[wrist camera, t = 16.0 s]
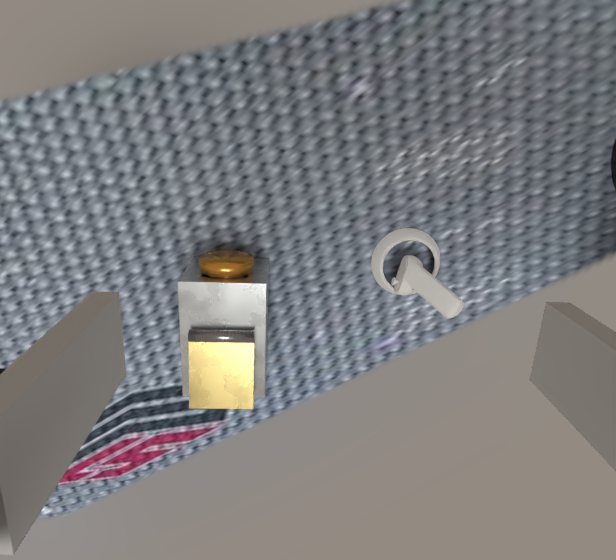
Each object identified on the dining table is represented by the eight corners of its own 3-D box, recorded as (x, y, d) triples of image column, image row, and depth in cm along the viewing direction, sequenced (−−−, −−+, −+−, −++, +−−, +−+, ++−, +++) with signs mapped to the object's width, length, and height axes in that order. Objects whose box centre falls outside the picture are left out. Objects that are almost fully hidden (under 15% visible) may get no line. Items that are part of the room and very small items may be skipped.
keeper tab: (254, 328, 45) (254, 332, 44) (253, 404, 47) (252, 409, 45) (190, 327, 45) (187, 331, 44) (191, 403, 46) (188, 409, 45)
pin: (255, 251, 49) (251, 265, 44) (254, 357, 53) (251, 382, 48) (203, 249, 49) (194, 264, 44) (206, 357, 53) (198, 381, 48)
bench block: (269, 258, 52) (266, 283, 44) (267, 357, 56) (264, 397, 48) (194, 256, 51) (177, 281, 43) (197, 356, 55) (182, 396, 47)
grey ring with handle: (474, 338, 51) (432, 350, 46) (399, 275, 58) (356, 282, 54) (508, 279, 47) (465, 287, 43) (422, 220, 54) (379, 222, 50)
